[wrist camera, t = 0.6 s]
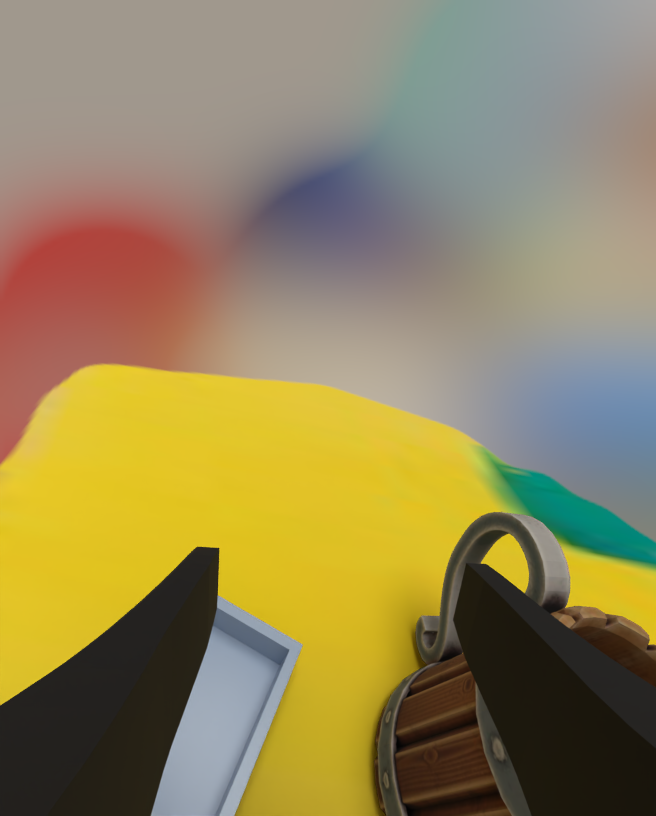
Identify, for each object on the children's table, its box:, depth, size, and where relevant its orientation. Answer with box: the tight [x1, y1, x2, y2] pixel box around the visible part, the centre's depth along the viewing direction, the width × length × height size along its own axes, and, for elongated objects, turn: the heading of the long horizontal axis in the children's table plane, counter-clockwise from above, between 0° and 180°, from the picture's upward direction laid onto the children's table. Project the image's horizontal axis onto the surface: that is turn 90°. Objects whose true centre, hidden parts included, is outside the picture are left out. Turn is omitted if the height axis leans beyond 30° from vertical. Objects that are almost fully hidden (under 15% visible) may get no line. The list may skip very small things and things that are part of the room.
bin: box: [151, 596, 302, 816], centre depth 20 cm, size 9×9×4 cm
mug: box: [374, 512, 656, 816], centre depth 19 cm, size 16×10×15 cm
